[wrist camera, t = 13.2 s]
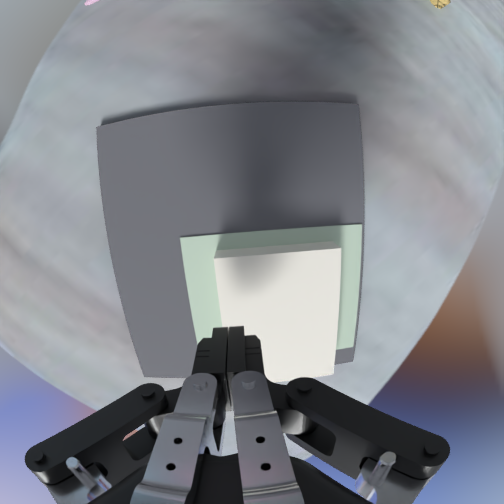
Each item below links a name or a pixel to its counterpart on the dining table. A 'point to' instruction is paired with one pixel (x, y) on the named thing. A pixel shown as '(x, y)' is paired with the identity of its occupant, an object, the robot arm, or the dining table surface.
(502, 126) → the dining table surface
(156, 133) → the mat
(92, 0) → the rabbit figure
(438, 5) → the yellow speckled pebbles
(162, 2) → the dining table surface
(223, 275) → the tile
